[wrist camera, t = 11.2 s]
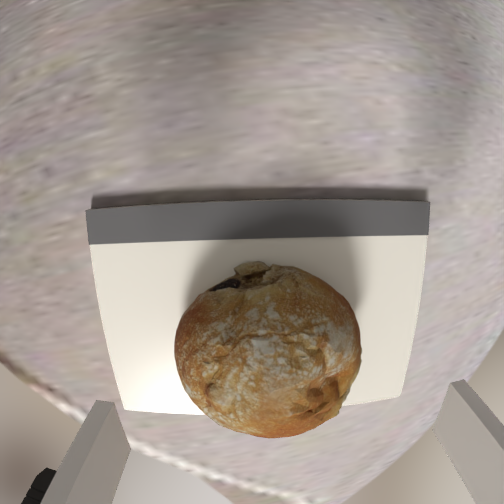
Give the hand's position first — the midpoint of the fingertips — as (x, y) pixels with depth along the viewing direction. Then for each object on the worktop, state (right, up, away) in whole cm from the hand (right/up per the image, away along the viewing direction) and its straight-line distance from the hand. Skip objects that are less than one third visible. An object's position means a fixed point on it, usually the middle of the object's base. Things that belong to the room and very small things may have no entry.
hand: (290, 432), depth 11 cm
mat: (-1, +3, +9) cm, 9 cm away
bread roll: (0, +1, +9) cm, 9 cm away
